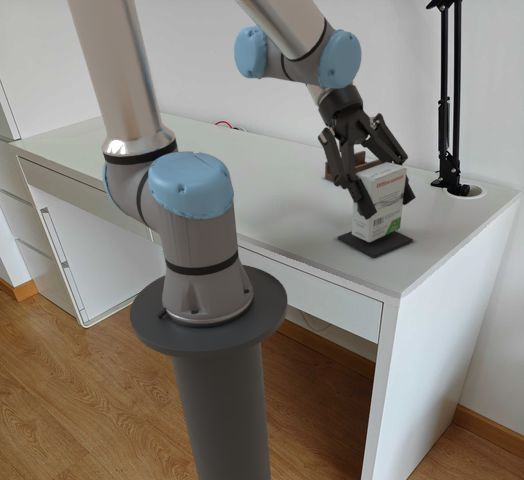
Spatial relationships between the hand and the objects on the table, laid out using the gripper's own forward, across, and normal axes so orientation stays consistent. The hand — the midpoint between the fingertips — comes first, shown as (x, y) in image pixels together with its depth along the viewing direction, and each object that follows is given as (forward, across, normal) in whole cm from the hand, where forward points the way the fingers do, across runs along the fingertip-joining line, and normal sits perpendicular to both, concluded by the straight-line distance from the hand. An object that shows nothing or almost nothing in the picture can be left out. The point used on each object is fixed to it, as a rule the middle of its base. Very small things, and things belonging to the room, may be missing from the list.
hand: (390, 208), depth 89 cm
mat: (+3, 0, -8) cm, 8 cm away
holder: (-17, -20, -27) cm, 38 cm away
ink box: (+2, 0, -6) cm, 7 cm away
